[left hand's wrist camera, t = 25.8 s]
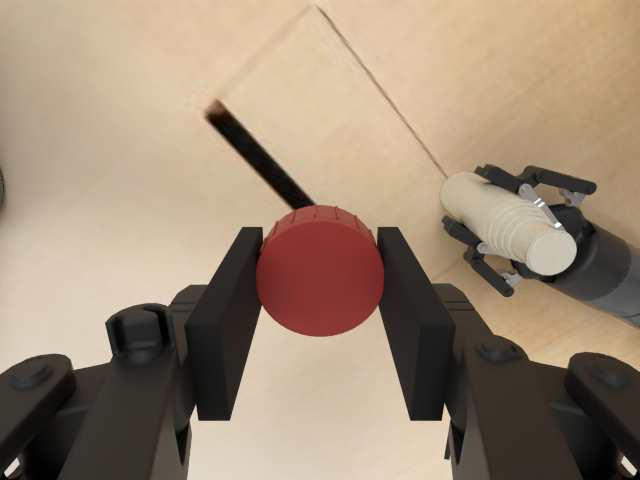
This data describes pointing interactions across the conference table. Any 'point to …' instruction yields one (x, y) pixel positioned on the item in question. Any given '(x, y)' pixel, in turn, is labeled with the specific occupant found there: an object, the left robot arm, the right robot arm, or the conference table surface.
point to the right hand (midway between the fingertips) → (462, 196)
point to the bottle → (508, 223)
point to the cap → (320, 271)
